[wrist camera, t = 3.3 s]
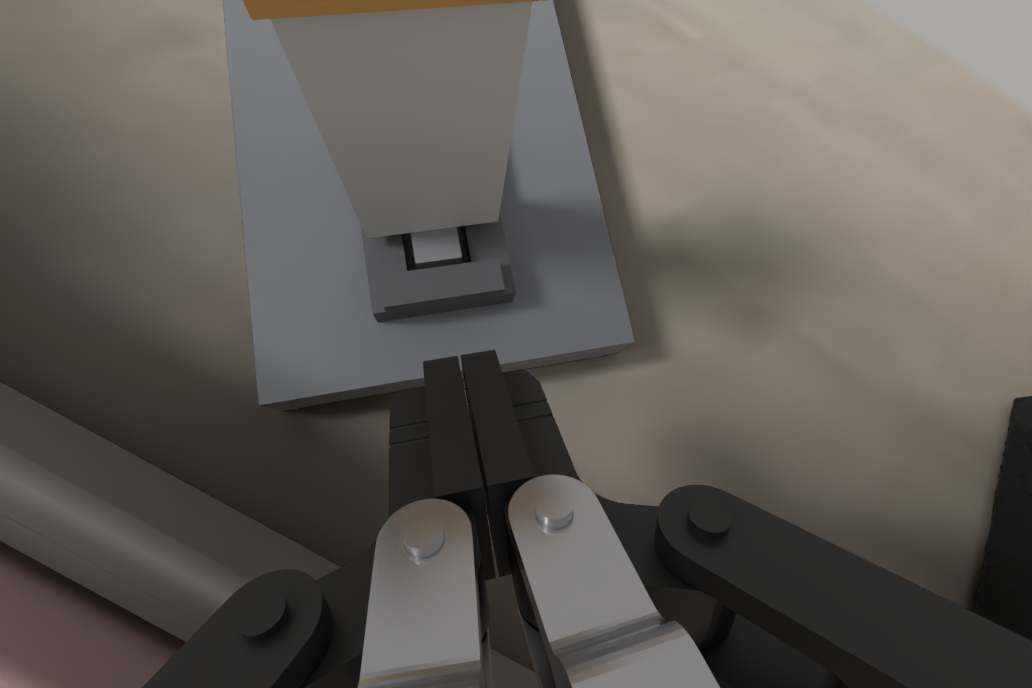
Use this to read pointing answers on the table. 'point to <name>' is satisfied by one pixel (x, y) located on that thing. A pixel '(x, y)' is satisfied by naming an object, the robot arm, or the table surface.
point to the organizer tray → (119, 558)
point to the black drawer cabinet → (1011, 533)
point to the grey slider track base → (390, 259)
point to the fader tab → (411, 106)
